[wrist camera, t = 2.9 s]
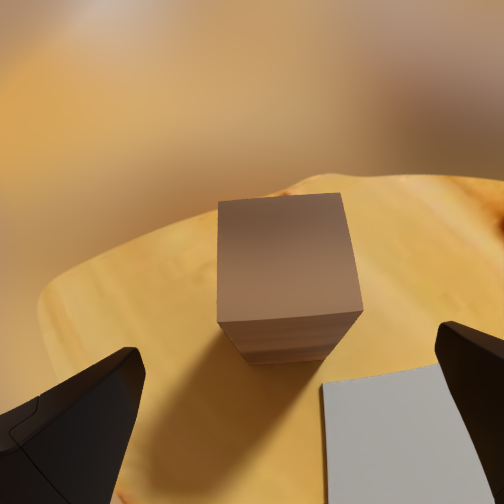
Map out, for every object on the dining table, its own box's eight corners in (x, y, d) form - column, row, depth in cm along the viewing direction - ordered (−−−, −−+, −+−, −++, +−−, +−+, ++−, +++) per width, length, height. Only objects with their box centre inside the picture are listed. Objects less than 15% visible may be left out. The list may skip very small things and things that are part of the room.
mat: (486, 546, 9) (488, 547, 9) (326, 597, 10) (327, 599, 10) (486, 351, 17) (488, 350, 16) (322, 383, 17) (322, 383, 17)
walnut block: (324, 359, 18) (363, 310, 9) (249, 365, 18) (217, 322, 10) (317, 290, 20) (340, 192, 11) (246, 295, 21) (218, 201, 12)
